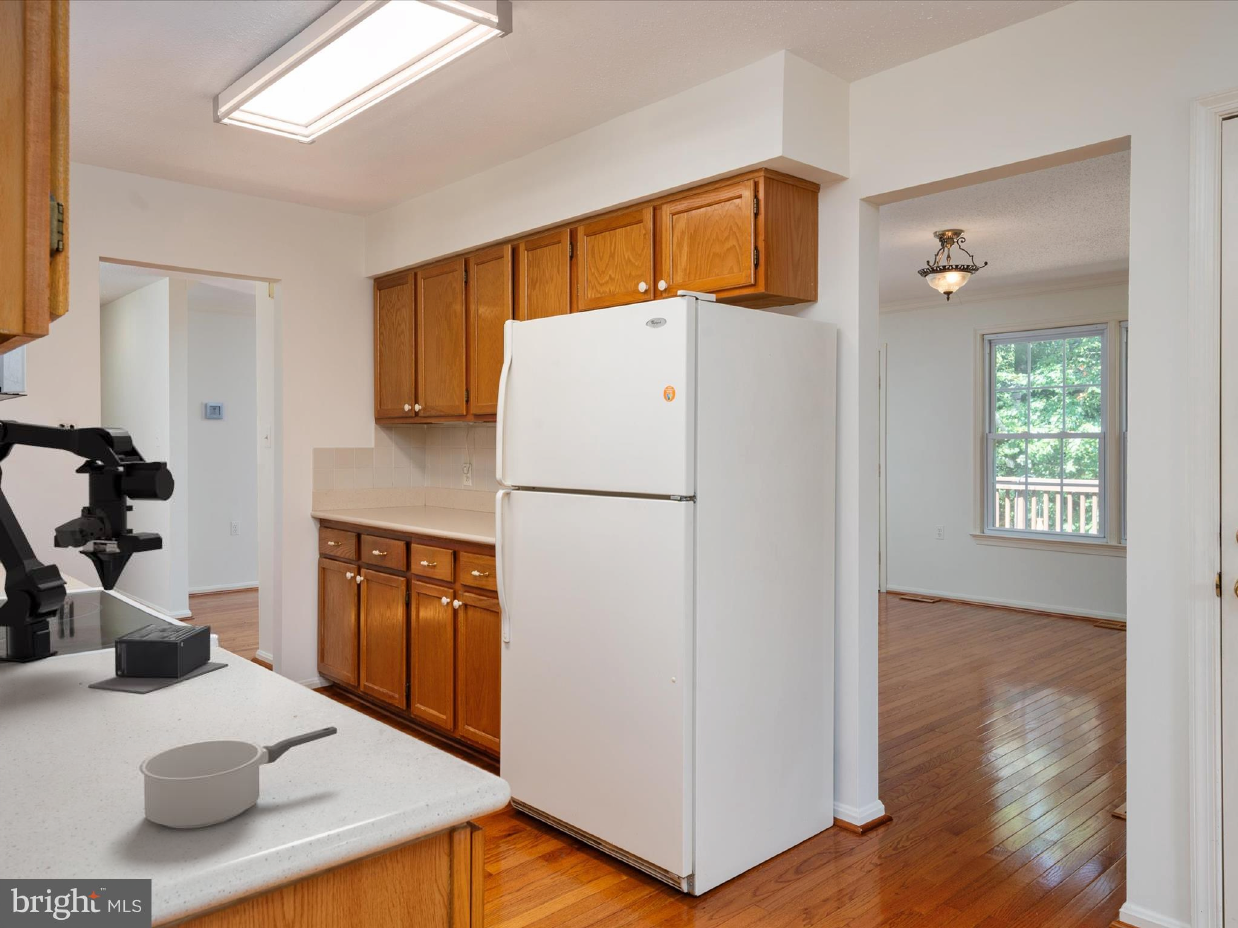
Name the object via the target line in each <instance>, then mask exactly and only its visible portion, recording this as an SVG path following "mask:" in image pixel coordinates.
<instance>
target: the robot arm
mask: <svg viewBox="0 0 1238 928" xmlns="http://www.w3.org/2000/svg"><path fill="white" fill-rule="evenodd" d="M133 442H134V441H133V439H132V435H131V434H130V432H129V431H128V430H127V429H125V428H121V427H107V426H106V427H103V426H102V427H100V426H99V427H98V426H97V427H96V426H95V427H79V428H77V427H76V428H71V427H70V428H69V427H63V426H61V427H60V426H52V425H46V424H45V425H44V424H36V423H35V424H34V423H28V422H19V421H17V420H12V419H0V464H1V463H2V462H3V461H4V460H5V459H7V458H8V457H9V456H10V454H11V452H12V449H13V448H14V447H15V445H22V446H30V447H37V448H38V447H39V448H43V449H45V448H47V449H54V450H63V451H66V452H70V453H71V454H73V455H76V457H77V456H78V457H81V458H84V459H86V460H85V461H84V462H83V464H81V465H80V466H78V467H77V468H76V469H75V471H74V472H75V473H76V474H80V475H81V474H84V475H85V474H86V475H87V474H88V505H87V506H85V505H84V506H82V508H81V510H80V516H79V517H76V518H73V519H71V520H69V521H67V522H65V523H63V524H61V525H59V526H57V527H55V528H54V532H55V535H54V536H53V547H54V548H61V549H68V548H69V547H71V548H74V549H79V548H82V550H78V553H79V554H80V555H84V557H87V558H88V559H89V560H90V561H91V562H92V564H93V567H94V568H95V570H96V571H95V572H96V573H97V576H98V578H99V581H100V583H101V586H102V588H103V590H104V591H112V590H114V588H115V587H116V584H117V582H118V581H119V578H120V577H121V575H122V573H123V571H124V569H125V567H126V565H127V564H128V562H129V560H130V559H131V557H132V556H133V554H134V553H135V554H136V553H143V552H144V553H145V552H151V551H156V550H159V551H160V550H163V537H162V535H160V534H159V533H157V532H144V531H142V532H135V533H134V529H133V528H128V512H133V511H134V509H133V508H134V505H133V504H128V500H131V501H144V502H145V501H146V502H147V501H149V502H150V501H151V502H152V501H154V502H155V501H156V502H157V501H158V502H159V501H161V502H166V501H169V499H170V498H172V496H173V494H174V490H175V479H173V477H174V476H173V474H172V472H171V471H170V469H169V468H168V462H167V461H166V460H165V461H162V460H161V461H151V462H147V461H146V459H145V457H144V456H143V455H142V454H141V452H140V451H139V450H138V448H137V447H136V446H135V444H134V443H133ZM99 462H100V463H99ZM119 468H122V469H121V470H120V469H119ZM2 481H3V469H2V466H1V465H0V563H1V565H2V567H3V569H4V571H5V579H4V587H3V588H4V594H5V596H6V601H5V602H4V603H3V604H2V605H1V606H0V627H1V628H2V627H5V654H1V655H0V660H3V661H10V662H22V663H24V662H25V663H26V662H30V661H35V660H38V659H42V658H46V657H50V656H54V655H56V654H57V655H58V653H59V650H55V649H51V647H52V646H51V630H50V620H48V619H52V618H56V617H58V614H59V611H60V608H61V606H62V605H63V604H64V602H65V599H66V597H67V593H68V591H67V588H66V586H65V585H67V584H68V581H66V580H65V579H64V578H63V576H62V575H61V572H60V569H59V566H58V565H57V564H56V563H52V564H47V565H46V564H44V563H43V562H41V561H40V560H39V558H37V555H36V554H35V552H34V550H33V547H32V546H31V544H30V542H29V540H28V538H27V536H26V534H25V532H24V531H23V529H22V527H21V525H20V523H19V521H18V519H17V517H16V514H15V513H14V511H13V509H12V507H11V505H10V503H9V502H8V500H7V498H6V496H5V494H4V492H3V490H2V486H1V485H2Z"/></svg>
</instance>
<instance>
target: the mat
mask: <svg viewBox="0 0 1238 928" xmlns="http://www.w3.org/2000/svg"><path fill="white" fill-rule="evenodd" d="M227 666H228V667H229V664H228V663H222V662H221V663H220V662H212V661H208V662H206V663H204V664H203V665H201V666H199V667H197V668H195V669H194V670H192V671H190V672H188V673H187V674H185V675H183V676H181V677H180V678H166V677H124V676H115V677H110V678H108V679H107V678H106V679H103V680H101V681H98V682H94V683H91V684H88V685H87V686H88V688H94V689H101V690H109V691H110V690H111V691H118V692H124V693H125V692H127V693H136V694H145V695H146V694H149V693H151V692H155V691H157V690H160V689H163V688H165V687H168V686H172V685H175V684H178V683H182V682H184V681H187V680H189V679H193V678H196V677H198V676H202V675H204V674H208V673H210V672H214V671H217V670H220V669H222V668H225V667H227Z"/></svg>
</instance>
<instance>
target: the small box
mask: <svg viewBox="0 0 1238 928" xmlns="http://www.w3.org/2000/svg"><path fill="white" fill-rule="evenodd" d="M114 661H115V662H114V668H115V669H114V671H115V673H114V674H115V677H117V676H124V677H166V678H180V677H181V676H183V675H185V674H187V673H188V672H190V671H192V670H194V669H195V668H197V667H199V666H201V665H203V664H204V663H206V662H211V625H179V624H178V625H177V624H176V625H174V624H155V623H154V624H152V623H151V624H147V625H145V626H143V627H140V628H138V629H136V630H134V631H131V632H128V633H126V634H123V635H121V636H119V637H117V638H115V639H114Z"/></svg>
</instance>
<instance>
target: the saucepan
mask: <svg viewBox="0 0 1238 928" xmlns="http://www.w3.org/2000/svg"><path fill="white" fill-rule="evenodd" d="M336 734H338V728H336V727H335V726H333V725H332V726H329V727H326V728H321V729H317V730H314V731H310V732H306V733H303V734H300V735H296V736H292V737H289V738H285V739H283V740H280V741H278V742H276V743H275V744H273V745H264V746H261V745H260V744H258V743H256V742H254V741H251V740H245V739H239V738H237V739H235V738H222V739H221V738H220V739H207V740H200V741H199V740H198V741H193V742H192V741H191V742H188V743H184V744H179V745H176V746H171V747H169V748H166V749H163V750H161V751H158V752H156V753H154V754H152V755H150V756H149V757H147V758H146V759H144V760H143V761H142V762H141V764H140V765H139V772H141V774H143V779H144V781H143V783H144V787H143V789H144V791H143V792H144V794H143V795H144V798H143V799H144V816H145V817H146V819H148V820H149V821H150V822H152V823H155V824H158V825H163V826H166V827H168V828H173V829H195V828H202V827H203V828H204V827H208V826H213V825H215V824H217V825H218V824H220V823H224V822H226V821H228V820H230V819H233V818H234V817H237V816H238V815H240V814H241V813H243V812H244V811H245V810H248V809H249V808H251V807H252V806H253V805H255V804H256V802H257V801H258V800H259V797H260V766H262V765H268V764H272V763H275V762H276V761H277V760H278V759H279V758H281V757H282V756H283V755H284V754H285V753H286V752H288V751H289V750H290V749H291V748H293V747H297V746H300V745H305V744H306V743H310V742H313V741H318V740H320V739H324V738H326V737H330V736H333V735H336Z"/></svg>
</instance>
